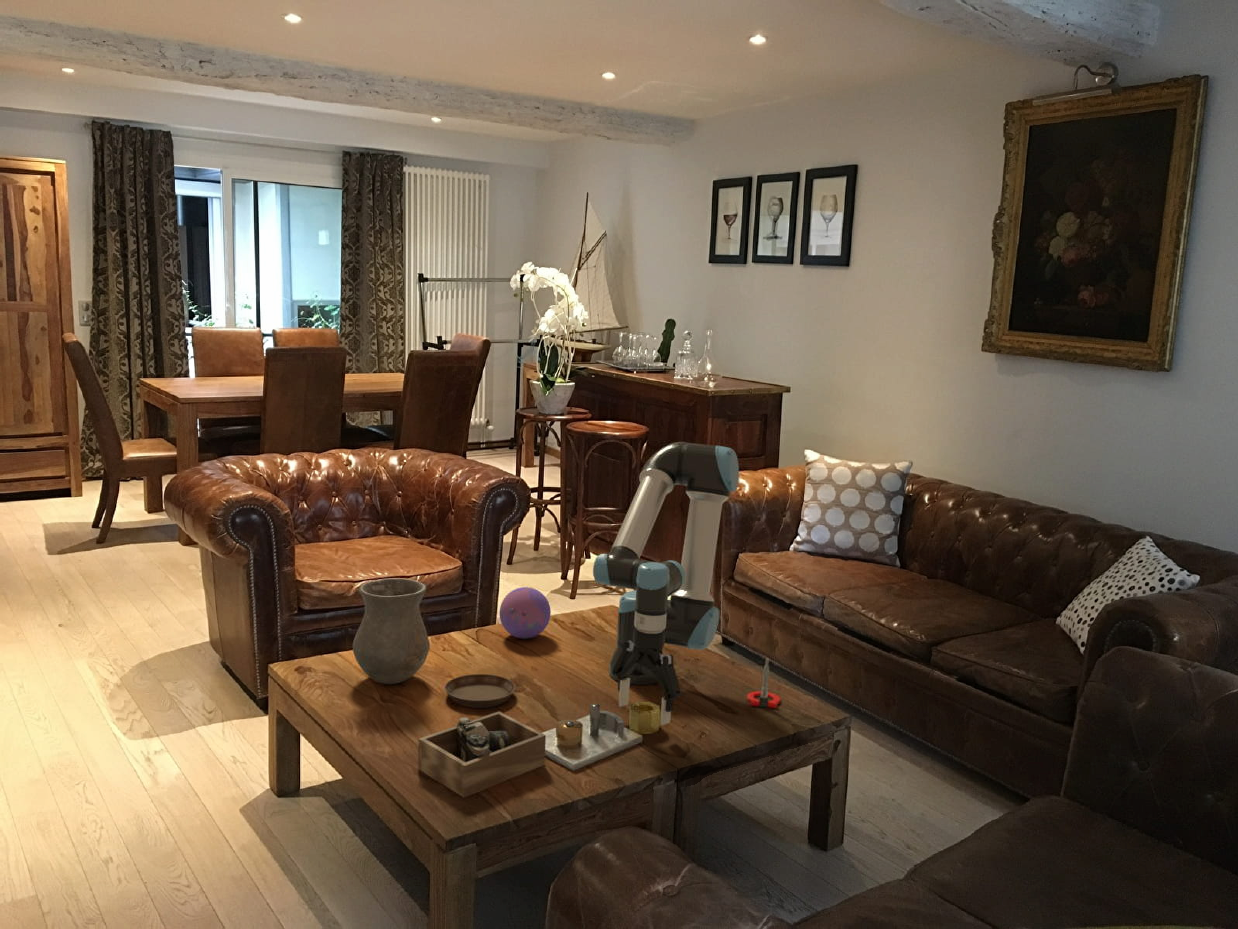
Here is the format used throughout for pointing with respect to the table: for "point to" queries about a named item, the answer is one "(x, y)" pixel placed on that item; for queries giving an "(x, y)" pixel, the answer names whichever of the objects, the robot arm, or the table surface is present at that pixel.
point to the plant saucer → (479, 690)
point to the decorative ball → (525, 612)
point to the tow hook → (764, 693)
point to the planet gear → (644, 717)
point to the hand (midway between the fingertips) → (643, 714)
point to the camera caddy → (487, 770)
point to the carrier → (588, 738)
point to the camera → (478, 740)
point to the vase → (391, 630)
